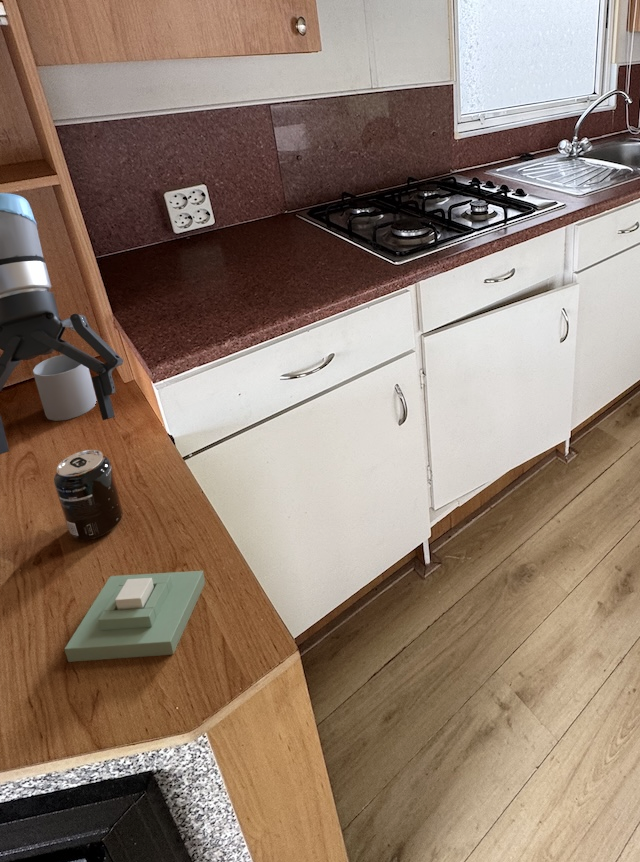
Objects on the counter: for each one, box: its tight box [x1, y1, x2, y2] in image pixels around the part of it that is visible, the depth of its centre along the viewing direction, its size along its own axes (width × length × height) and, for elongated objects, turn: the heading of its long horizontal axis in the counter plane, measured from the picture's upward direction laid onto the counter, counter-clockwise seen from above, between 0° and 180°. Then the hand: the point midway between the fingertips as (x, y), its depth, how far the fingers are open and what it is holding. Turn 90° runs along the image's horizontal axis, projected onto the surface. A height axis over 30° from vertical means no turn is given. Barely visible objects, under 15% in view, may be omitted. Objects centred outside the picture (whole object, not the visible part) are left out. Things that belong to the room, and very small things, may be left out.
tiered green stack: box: [63, 570, 206, 663], centre depth 73 cm, size 12×10×4 cm
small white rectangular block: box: [115, 578, 154, 610], centre depth 72 cm, size 3×3×2 cm
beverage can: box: [53, 449, 124, 541], centre depth 86 cm, size 7×7×12 cm
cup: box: [32, 354, 98, 422], centre depth 114 cm, size 8×8×10 cm
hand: (56, 435), depth 84 cm, fingers open, 13 cm apart
